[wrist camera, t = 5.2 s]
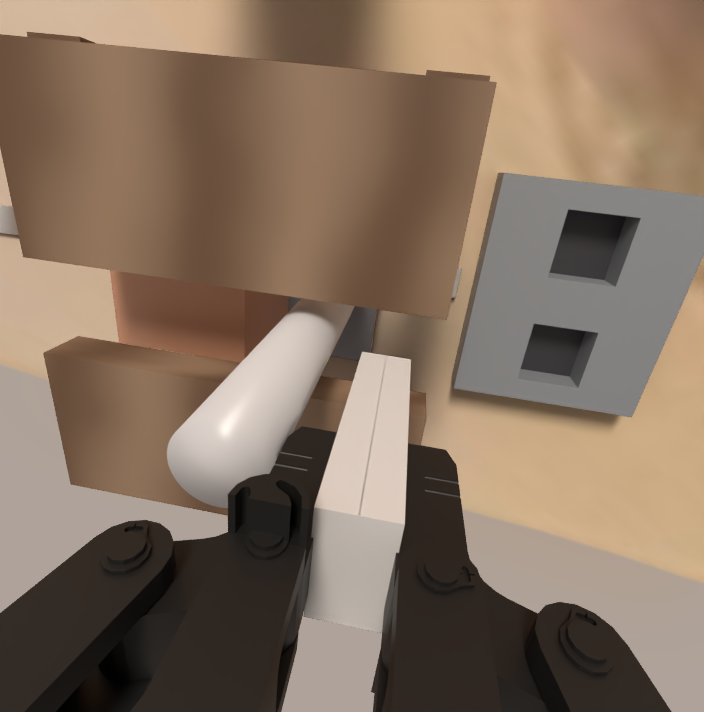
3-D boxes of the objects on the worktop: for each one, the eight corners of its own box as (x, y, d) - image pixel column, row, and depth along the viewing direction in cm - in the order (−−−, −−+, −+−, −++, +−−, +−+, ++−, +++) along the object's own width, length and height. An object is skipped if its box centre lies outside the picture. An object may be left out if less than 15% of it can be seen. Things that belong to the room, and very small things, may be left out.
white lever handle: (395, 178, 26) (325, 195, 7) (371, 354, 31) (290, 651, 12) (152, 149, 28) (-467, 95, 8) (165, 321, 33) (-206, 539, 13)
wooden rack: (491, 124, 25) (576, 67, 11) (432, 402, 33) (441, 566, 19) (-57, 67, 28) (-499, -31, 15) (7, 332, 36) (-243, 429, 22)
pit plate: (706, 196, 25) (728, 198, 23) (619, 402, 31) (631, 417, 29) (498, 172, 26) (504, 172, 24) (451, 375, 32) (453, 388, 30)
